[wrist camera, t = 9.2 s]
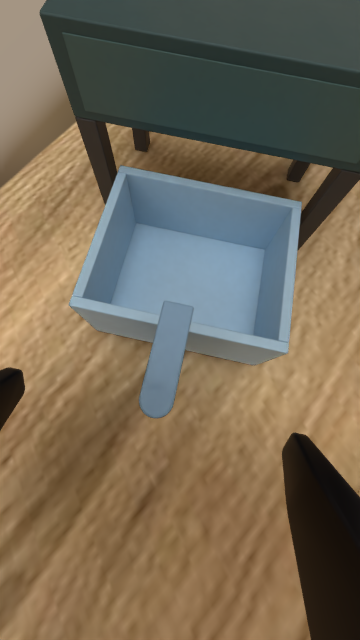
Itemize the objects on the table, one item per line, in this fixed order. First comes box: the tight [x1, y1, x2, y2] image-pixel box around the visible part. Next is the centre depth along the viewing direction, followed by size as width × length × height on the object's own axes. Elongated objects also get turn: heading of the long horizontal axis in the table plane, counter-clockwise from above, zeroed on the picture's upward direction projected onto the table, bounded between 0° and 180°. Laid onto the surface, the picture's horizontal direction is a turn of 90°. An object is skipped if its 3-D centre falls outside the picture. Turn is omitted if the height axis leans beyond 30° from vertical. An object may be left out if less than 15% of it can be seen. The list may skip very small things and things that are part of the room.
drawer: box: [69, 165, 302, 418], centre depth 15 cm, size 14×12×10 cm
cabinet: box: [40, 0, 360, 251], centre depth 17 cm, size 10×16×12 cm, turn 78°
